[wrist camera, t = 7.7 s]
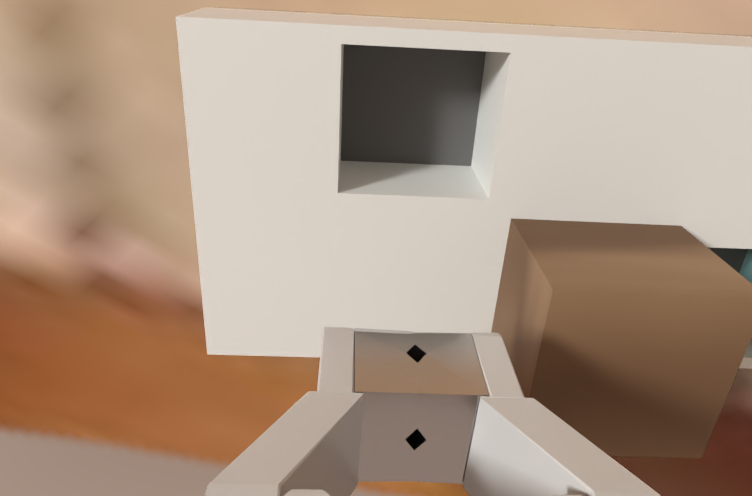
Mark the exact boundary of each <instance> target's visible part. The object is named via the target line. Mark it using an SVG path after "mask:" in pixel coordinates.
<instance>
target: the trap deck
mask: <svg viewBox="0 0 752 496" xmlns="http://www.w3.org/2000/svg"><path fill="white" fill-rule="evenodd" d="M176 26H177V37H178V47H179V58H180V69H181V79H182V90H183V100H184V111H185V122H186V132H187V143H188V154H189V164H190V175H191V186H192V196H193V207H194V217H195V228H196V239H197V249H198V260H199V271H200V281H201V292H202V303H203V313H204V324H205V334H206V345H207V354H212V355H250V356H289V357H320V354H321V343H322V331H323V329H324V327H344V328H353V330H354V328H365V329H382V330H400V331H412V332H438V333H469V332H477V333H491V330H492V325H493V319H494V313H495V307H496V302H497V296H498V290H499V284H500V279H501V273H502V267H503V262H504V256H505V250H506V244H507V239H508V233H509V227H510V222H511V218H512V219H536V220H559V221H582V222H606V223H629V224H652V225H676V226H682V227H683V228H684V229H686V230H687V231H688V232H689V233H691V234H692V235H693V236H694V237H695V238H697V239H698V240H699V241H700V242H702V243H703V244H704V245H705V246H706V247H708V248H709V249H710V250H711V251H712V252H714V253H715V254H716V255H717V256H719V257H720V258H721V259H722V260H723V261H725V262H726V263H727V264H728V265H729V266H731V267H732V268H733V269H734V270H736V271H737V272H738V273H739V274H740V275H742V276H743V277H744V278H745V279H747V280H748V281H749V282H750V283H751V284H752V37H751V36H732V35H713V34H695V33H676V32H658V31H639V30H621V29H602V28H584V27H565V26H547V25H528V24H509V23H491V22H472V21H454V20H435V19H417V18H398V17H380V16H361V15H342V14H324V13H305V12H287V11H268V10H250V9H231V8H213V7H205V8H202V9H198V10H195V11H192V12H189V13H185V14H182V15H179V16H176ZM739 368H747V369H752V338H751V341H750V343H749V345H748V348H747V350H746V353H745V355H744V357H743V360H742V362H741V365H740V367H739Z"/></svg>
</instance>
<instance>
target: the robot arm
mask: <svg viewBox="0 0 752 496" xmlns="http://www.w3.org/2000/svg"><path fill="white" fill-rule="evenodd" d="M358 481H417V482H437V483H458V484H463V487H464V489H465V490H466V491H467V492H468V494H469V495H470V496H660V494H658V493H657V492H656V491H654V490H653V489H652V488H650V487H649V486H648V485H647V484H645V483H644V482H643V481H641V480H640V479H639V478H637V477H636V476H635V475H633V474H632V473H631V472H630V471H628V470H627V469H626V468H624V467H623V466H622V465H620V464H619V463H618V462H616V461H615V460H614V459H613V458H611V457H610V456H609V455H607V454H606V453H605V452H603V451H602V450H601V449H599V448H598V447H597V446H596V445H594V444H593V443H592V442H590V441H589V440H588V439H586V438H585V437H584V436H582V435H581V434H580V433H579V432H577V431H576V430H575V429H573V428H572V427H571V426H569V425H568V424H567V423H565V422H564V421H563V420H562V419H560V418H559V417H558V416H556V415H555V414H554V413H552V412H551V411H550V410H548V409H547V408H546V407H545V406H543V405H542V404H541V403H539V402H538V401H537V400H535V399H534V398H525V397H524V394H523V392H522V389H521V386H520V384H519V381H518V378H517V376H516V373H515V370H514V367H513V365H512V362H511V359H510V357H509V354H508V351H507V349H506V346H505V343H504V341H503V338H502V336H501V335H500V334H499V333H477V332H469V333H438V332H412V331H400V330H382V329H365V328H354V330H353V328H344V327H324V329H323V331H322V343H321V354H320V365H319V377H318V388H317V392H316V391H309V392H307V393H306V394H305V395H304V396H303V397H302V398H301V399H300V400H298V401H297V402H296V403H295V404H294V405H293V406H292V407H291V408H290V409H289V410H288V411H287V412H286V413H284V414H283V415H282V416H281V417H280V418H279V419H278V420H277V421H276V422H275V423H274V424H273V425H272V426H270V427H269V428H268V429H267V430H266V431H265V432H264V433H263V434H262V435H261V436H260V437H259V438H258V439H257V440H255V441H254V442H253V443H252V444H251V445H250V446H249V447H248V448H247V449H246V450H245V451H244V452H243V453H241V454H240V455H239V456H238V457H237V458H236V459H235V460H234V461H233V462H232V463H231V464H230V465H229V466H227V467H226V468H225V469H224V470H223V471H222V472H221V473H220V474H219V475H218V476H217V477H216V478H215V479H214V480H212V481H211V482H210V483H209V484H208V486H207V490H206V494H205V496H350V495H351V494H352V492H353V491H354V489H355V488H356V486H357V485H358Z"/></svg>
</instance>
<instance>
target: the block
mask: <svg viewBox="0 0 752 496" xmlns="http://www.w3.org/2000/svg"><path fill="white" fill-rule="evenodd" d="M491 333H499V334H500V335H501V336H502V338H503V341H504V343H505V346H506V349H507V351H508V354H509V357H510V359H511V362H512V365H513V367H514V370H515V373H516V376H517V378H518V381H519V384H520V386H521V389H522V392H523V394H524V397H525V398H534V399H535V400H537V401H538V402H539V403H541V404H542V405H543V406H545V407H546V408H547V409H548V410H550V411H551V412H552V413H554V414H555V415H556V416H558V417H559V418H560V419H562V420H563V421H564V422H565V423H567V424H568V425H569V426H571V427H572V428H573V429H575V430H576V431H577V432H579V433H580V434H581V435H582V436H584V437H585V438H586V439H588V440H589V441H590V442H592V443H593V444H594V445H596V446H597V447H598V448H599V449H601V450H602V451H603V452H605V453H606V454H607V455H609V456H616V457H660V458H702V456H703V453H704V451H705V449H706V446H707V444H708V441H709V439H710V437H711V434H712V432H713V429H714V427H715V425H716V422H717V420H718V417H719V415H720V413H721V410H722V408H723V405H724V403H725V401H726V398H727V396H728V393H729V391H730V389H731V386H732V384H733V381H734V379H735V377H736V374H737V372H738V369H739V367H740V365H741V362H742V360H743V357H744V355H745V353H746V350H747V348H748V345H749V343H750V341H751V338H752V284H751V283H750V282H749V281H748V280H747V279H745V278H744V277H743V276H742V275H740V274H739V273H738V272H737V271H736V270H734V269H733V268H732V267H731V266H729V265H728V264H727V263H726V262H725V261H723V260H722V259H721V258H720V257H719V256H717V255H716V254H715V253H714V252H712V251H711V250H710V249H709V248H708V247H706V246H705V245H704V244H703V243H702V242H700V241H699V240H698V239H697V238H695V237H694V236H693V235H692V234H691V233H689V232H688V231H687V230H686V229H684V228H683V227H682V226H676V225H652V224H629V223H606V222H582V221H559V220H536V219H512V218H511V222H510V227H509V233H508V239H507V244H506V250H505V256H504V262H503V267H502V273H501V279H500V284H499V290H498V296H497V302H496V307H495V313H494V319H493V325H492V330H491Z"/></svg>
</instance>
